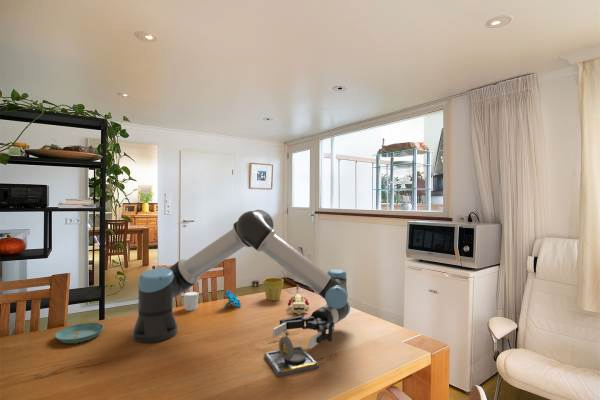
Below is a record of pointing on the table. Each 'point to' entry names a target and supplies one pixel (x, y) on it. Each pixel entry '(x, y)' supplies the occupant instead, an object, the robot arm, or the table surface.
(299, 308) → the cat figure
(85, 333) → the saucer
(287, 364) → the pocket plate
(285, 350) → the pocket watch
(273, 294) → the plant pot
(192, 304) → the white cup
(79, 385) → the table surface
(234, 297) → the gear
